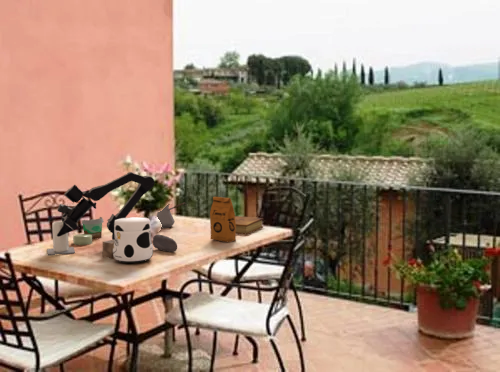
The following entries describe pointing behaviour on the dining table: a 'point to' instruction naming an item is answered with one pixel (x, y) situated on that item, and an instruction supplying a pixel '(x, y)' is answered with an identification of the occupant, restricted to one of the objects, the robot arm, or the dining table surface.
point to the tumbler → (59, 238)
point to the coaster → (52, 252)
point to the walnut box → (108, 249)
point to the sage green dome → (82, 239)
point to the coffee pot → (167, 216)
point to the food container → (93, 227)
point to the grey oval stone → (164, 243)
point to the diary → (247, 224)
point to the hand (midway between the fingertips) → (57, 234)
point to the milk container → (132, 240)
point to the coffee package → (222, 220)
